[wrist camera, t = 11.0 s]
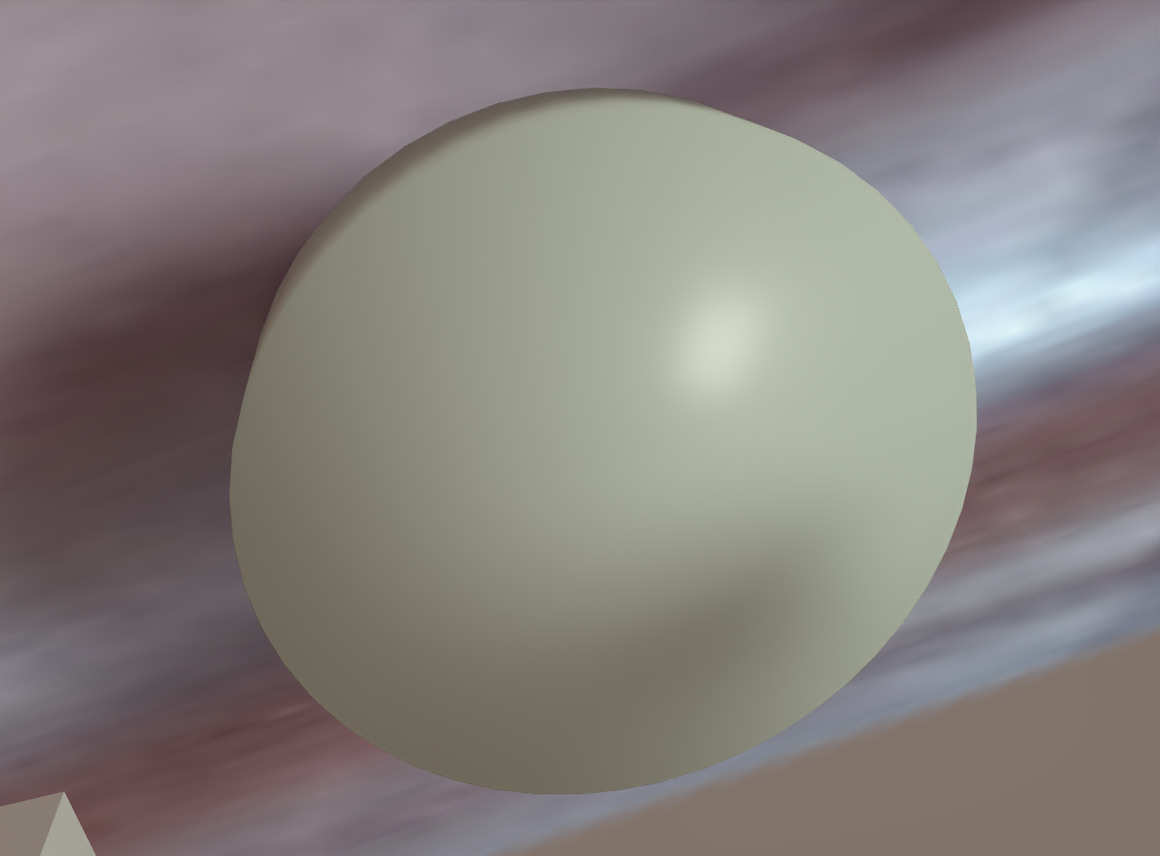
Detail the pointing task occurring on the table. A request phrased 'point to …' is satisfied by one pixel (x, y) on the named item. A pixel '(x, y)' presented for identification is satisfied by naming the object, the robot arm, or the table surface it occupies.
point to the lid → (598, 442)
